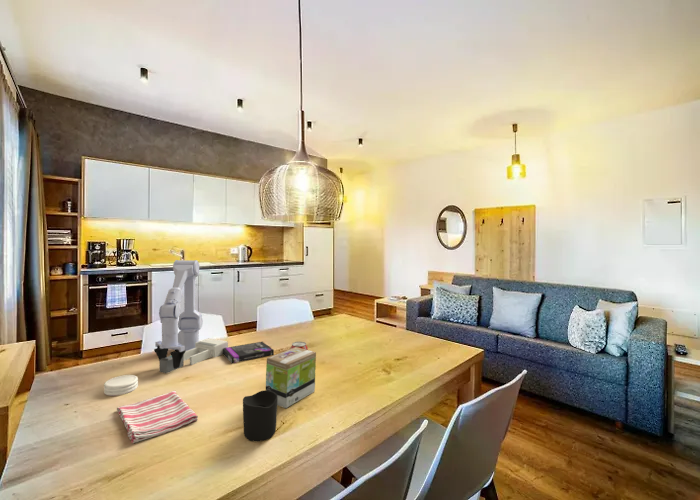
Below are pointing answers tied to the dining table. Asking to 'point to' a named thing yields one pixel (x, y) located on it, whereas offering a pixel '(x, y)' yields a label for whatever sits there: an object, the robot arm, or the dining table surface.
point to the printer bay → (205, 350)
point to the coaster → (120, 385)
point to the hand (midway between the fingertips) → (169, 366)
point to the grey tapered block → (168, 364)
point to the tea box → (291, 375)
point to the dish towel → (155, 416)
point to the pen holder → (260, 415)
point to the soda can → (299, 345)
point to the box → (247, 352)
